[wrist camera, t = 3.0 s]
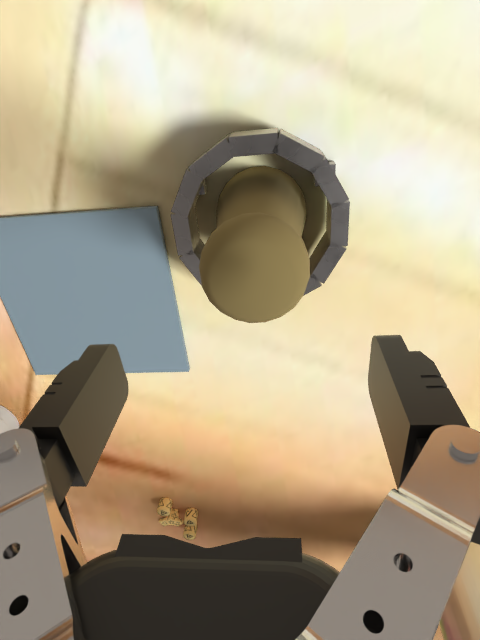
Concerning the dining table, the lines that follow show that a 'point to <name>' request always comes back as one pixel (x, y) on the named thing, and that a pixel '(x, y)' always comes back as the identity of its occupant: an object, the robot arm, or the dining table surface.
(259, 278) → the cork
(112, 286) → the rubber mat
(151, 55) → the dining table surface
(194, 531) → the dice set
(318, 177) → the grey segmented ring
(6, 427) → the chalice
